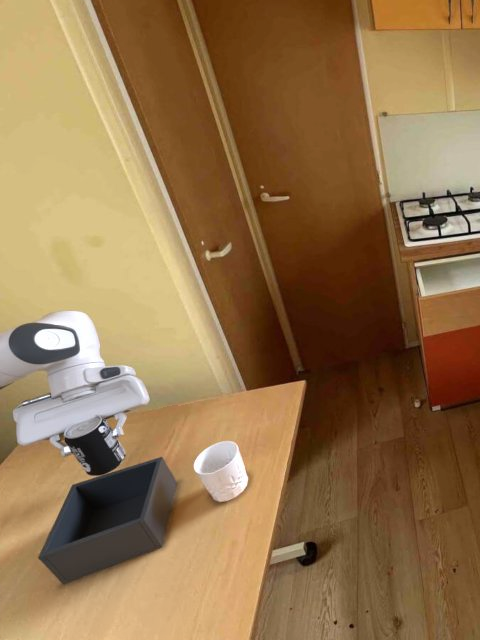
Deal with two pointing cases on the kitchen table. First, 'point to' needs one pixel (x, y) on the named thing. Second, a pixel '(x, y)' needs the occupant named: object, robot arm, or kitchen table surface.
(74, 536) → the bin
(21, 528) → the kitchen table surface
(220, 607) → the kitchen table surface
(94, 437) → the beverage can
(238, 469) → the white cup
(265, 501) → the kitchen table surface
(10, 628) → the kitchen table surface
